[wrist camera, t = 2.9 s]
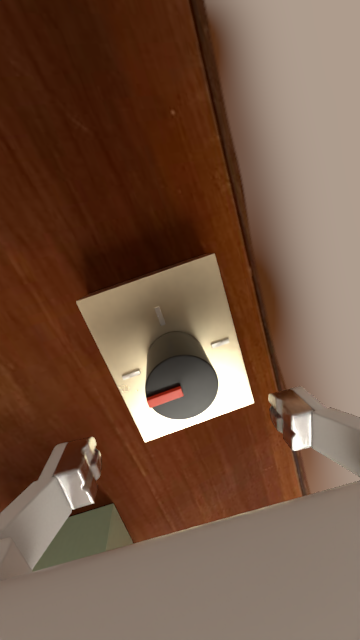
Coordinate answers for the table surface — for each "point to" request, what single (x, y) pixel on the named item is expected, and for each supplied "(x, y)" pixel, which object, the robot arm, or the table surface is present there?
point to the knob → (179, 377)
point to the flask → (86, 537)
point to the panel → (159, 319)
